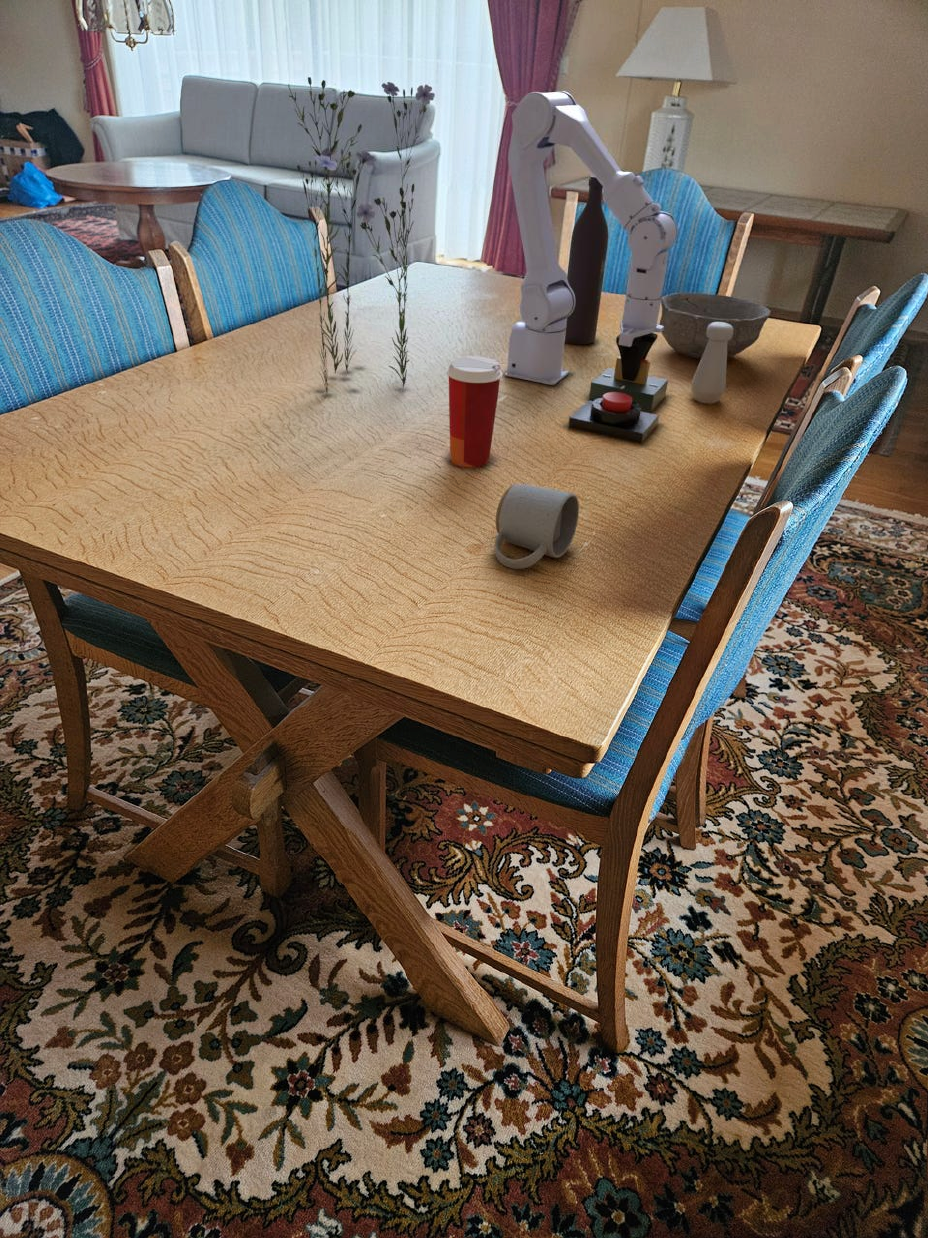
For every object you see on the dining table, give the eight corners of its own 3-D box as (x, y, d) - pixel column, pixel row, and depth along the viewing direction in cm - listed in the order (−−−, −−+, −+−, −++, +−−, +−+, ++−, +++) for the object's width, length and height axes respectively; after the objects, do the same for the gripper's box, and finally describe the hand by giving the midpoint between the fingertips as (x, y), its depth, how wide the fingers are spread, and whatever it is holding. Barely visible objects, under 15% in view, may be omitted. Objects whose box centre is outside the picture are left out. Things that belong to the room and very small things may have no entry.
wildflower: (278, 397, 141) (254, 73, 116) (329, 356, 160) (317, 68, 134) (410, 415, 137) (414, 84, 112) (446, 371, 156) (456, 78, 130)
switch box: (568, 427, 136) (570, 406, 134) (587, 410, 143) (589, 389, 141) (641, 443, 132) (645, 422, 130) (657, 425, 139) (661, 404, 137)
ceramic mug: (517, 523, 108) (521, 468, 104) (576, 541, 105) (584, 485, 101) (476, 560, 101) (479, 502, 96) (539, 581, 98) (546, 521, 93)
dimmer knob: (613, 378, 147) (616, 356, 145) (616, 376, 148) (619, 354, 146) (644, 384, 146) (648, 362, 143) (646, 382, 147) (650, 360, 144)
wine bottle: (596, 346, 173) (618, 180, 156) (561, 344, 172) (580, 178, 156) (592, 335, 178) (613, 174, 161) (558, 334, 178) (576, 172, 161)
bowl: (770, 354, 174) (783, 303, 168) (739, 380, 159) (752, 326, 153) (673, 334, 182) (682, 285, 177) (635, 357, 168) (644, 304, 162)
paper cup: (502, 454, 126) (510, 359, 118) (486, 474, 120) (493, 376, 112) (452, 444, 128) (456, 351, 120) (434, 464, 122) (437, 367, 114)
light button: (597, 409, 135) (599, 398, 134) (606, 400, 138) (608, 389, 137) (625, 415, 133) (627, 404, 132) (634, 406, 137) (636, 395, 136)
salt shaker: (722, 407, 147) (740, 330, 140) (689, 403, 148) (704, 326, 141) (721, 395, 152) (738, 320, 145) (688, 392, 153) (703, 317, 145)
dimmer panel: (588, 399, 147) (590, 381, 145) (606, 383, 154) (608, 366, 152) (650, 413, 143) (653, 394, 141) (665, 395, 150) (669, 378, 149)
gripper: (655, 309, 132) (640, 394, 140) (679, 290, 143) (664, 370, 151) (611, 301, 135) (599, 386, 142) (638, 283, 146) (626, 363, 153)
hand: (630, 377), depth 147 cm, fingers closed on dimmer knob
